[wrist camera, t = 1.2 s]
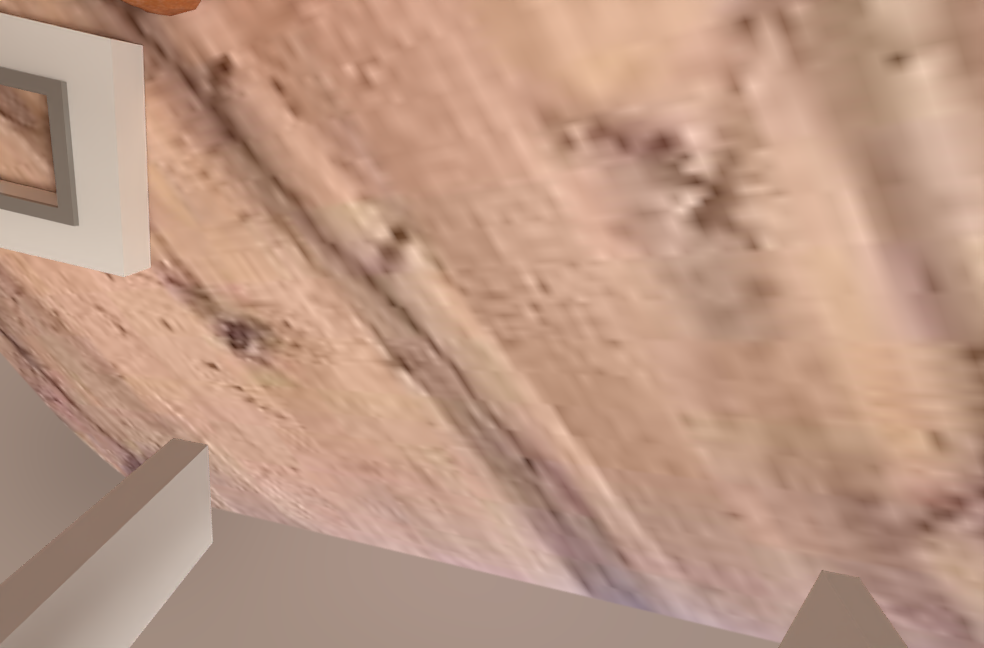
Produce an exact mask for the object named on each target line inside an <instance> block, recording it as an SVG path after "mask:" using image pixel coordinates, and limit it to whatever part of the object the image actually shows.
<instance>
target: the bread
mask: <svg viewBox="0 0 984 648" xmlns="http://www.w3.org/2000/svg"><path fill="white" fill-rule="evenodd" d="M122 1H124V2H126V3H128V4H130V5H132V6H136V7H139V8H141V9H143V10H145V11H146V12H149V13H155V14H161V15H169V16H172V15H176V14H180V13H183V12H187V11H191V10H195V9H196V8H197V6H198V5H199V3H200V1H201V0H122Z"/></svg>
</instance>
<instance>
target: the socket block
mask: <svg viewBox="0 0 984 648" xmlns="http://www.w3.org/2000/svg"><path fill="white" fill-rule="evenodd" d="M0 84H1V85H5V86H9V87H13V88H18V89H22V90H26V91H30V92H34V93H39V94H43V95H47V104H48V113H49V123H50V133H51V143H52V153H53V162H54V172H55V182H56V192H57V193H54V192H50V191H46V190H42V189H37V188H33V187H29V186H25V185H21V184H16V183H12V182H8V181H4V180H0V248H4V249H9V250H13V251H17V252H21V253H25V254H30V255H34V256H38V257H42V258H46V259H51V260H55V261H59V262H63V263H68V264H72V265H76V266H80V267H84V268H89V269H93V270H97V271H101V272H105V273H110V274H114V275H118V276H122V277H126V276H129V275H131V274H134V273H137V272H140V271H143V270H145V269H148V268H151V258H150V230H149V202H148V174H147V146H146V118H145V90H144V62H143V45H138V44H134V43H130V42H126V41H121V40H117V39H113V38H109V37H105V36H100V35H96V34H92V33H88V32H83V31H79V30H75V29H71V28H66V27H62V26H58V25H54V24H49V23H45V22H41V21H37V20H32V19H28V18H24V17H20V16H16V15H11V14H7V13H3V12H0Z"/></svg>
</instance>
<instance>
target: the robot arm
mask: <svg viewBox="0 0 984 648" xmlns="http://www.w3.org/2000/svg"><path fill="white" fill-rule="evenodd" d="M211 519H212V518H211V496H210V474H209V453H208V445H206V444H201V443H196V442H191V441H186V440H181V439H176V438H173V439H171V440H170V441H169V442H168V443H167V444H166V445H164V446H163V447H162V448H161V449H160V450H158V451H157V452H156V453H155V454H154V455H153V456H151V457H150V458H149V459H148V460H147V461H145V462H144V463H143V464H142V465H141V466H140V467H138V468H137V469H136V470H135V471H134V472H132V473H131V474H130V475H129V476H128V477H127V478H125V479H124V480H123V481H122V482H121V483H119V484H118V485H117V486H116V487H115V488H114V489H112V490H111V491H110V492H109V493H108V494H107V495H105V496H104V497H103V498H102V499H101V500H99V501H98V502H97V503H96V504H95V505H94V506H92V507H91V508H90V509H89V510H88V511H86V512H85V513H84V514H83V515H82V516H81V517H79V518H78V519H77V520H76V521H75V522H73V523H72V524H71V525H70V526H69V527H68V528H66V529H65V530H64V531H63V532H62V533H61V534H59V535H58V536H57V537H56V538H55V539H53V540H52V541H51V542H50V543H49V544H48V545H46V546H45V547H44V548H43V549H42V550H40V551H39V552H38V553H37V554H36V555H35V556H33V557H32V558H31V559H30V560H29V561H27V562H26V563H25V564H24V565H23V566H22V567H20V568H19V569H18V570H17V571H16V572H14V573H13V574H12V575H11V576H10V577H9V578H7V579H6V580H5V581H4V582H3V583H1V584H0V648H130V646H131V645H132V644H133V643H134V641H135V640H136V639H137V637H138V636H139V635H140V634H141V632H142V631H143V630H144V629H145V627H146V626H147V625H148V624H149V622H150V621H151V620H152V618H153V617H154V616H155V615H156V613H157V612H158V611H159V610H160V608H161V607H162V606H163V605H164V603H165V602H166V601H167V600H168V598H169V597H170V596H171V594H172V593H173V592H174V591H175V589H176V588H177V587H178V586H179V584H180V583H181V582H182V580H183V579H184V578H185V577H186V575H187V574H188V573H189V572H190V570H191V569H192V568H193V567H194V565H195V564H196V563H197V562H198V560H199V559H200V558H201V556H202V555H203V554H204V553H205V551H206V550H207V549H208V547H209V546H210V545H211V544H212V543H213V539H212V520H211ZM778 648H908V647H907V645H906V644H905V643H904V641H903V640H902V638H901V637H900V635H899V634H898V633H897V631H896V630H895V628H894V627H893V625H892V624H891V623H890V621H889V620H888V618H887V617H886V615H885V614H884V613H883V611H882V610H881V608H880V607H879V605H878V604H877V603H876V601H875V600H874V598H873V597H872V595H871V594H870V593H869V591H868V590H867V588H866V587H865V585H864V584H863V583H862V581H861V580H860V578H858V577H854V576H849V575H844V574H839V573H834V572H829V571H824V570H822V571H821V573H820V575H819V577H818V578H817V580H816V582H815V584H814V585H813V587H812V589H811V591H810V592H809V594H808V596H807V598H806V600H805V601H804V603H803V605H802V607H801V608H800V610H799V612H798V614H797V616H796V617H795V619H794V621H793V623H792V624H791V626H790V628H789V630H788V631H787V633H786V635H785V637H784V639H783V640H782V642H781V644H780V646H779V647H778Z"/></svg>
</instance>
